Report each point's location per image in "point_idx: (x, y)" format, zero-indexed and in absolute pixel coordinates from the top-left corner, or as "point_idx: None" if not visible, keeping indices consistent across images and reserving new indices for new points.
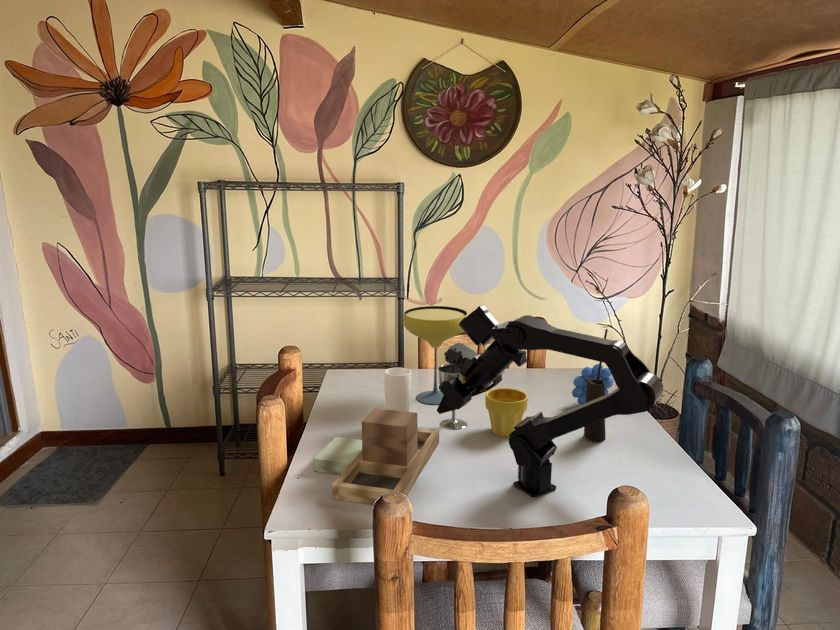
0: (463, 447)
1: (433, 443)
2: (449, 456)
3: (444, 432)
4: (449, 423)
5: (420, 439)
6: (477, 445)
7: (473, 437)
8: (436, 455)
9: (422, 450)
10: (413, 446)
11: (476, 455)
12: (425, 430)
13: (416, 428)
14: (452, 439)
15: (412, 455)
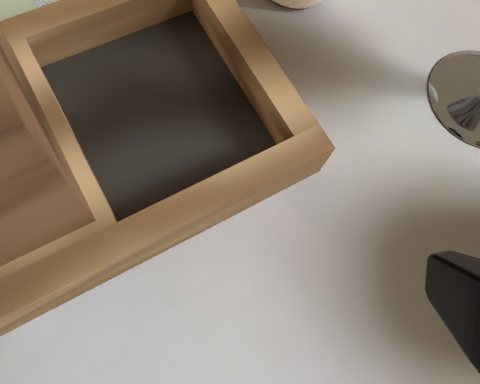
0: (368, 275)
1: (240, 200)
2: (257, 292)
3: (403, 122)
4: (465, 92)
5: (261, 112)
6: (430, 306)
7: (469, 238)
8: (223, 243)
9: (114, 236)
10: (6, 239)
11: (356, 377)
12: (291, 100)
13: (37, 183)
14: (384, 188)
15: (2, 259)
